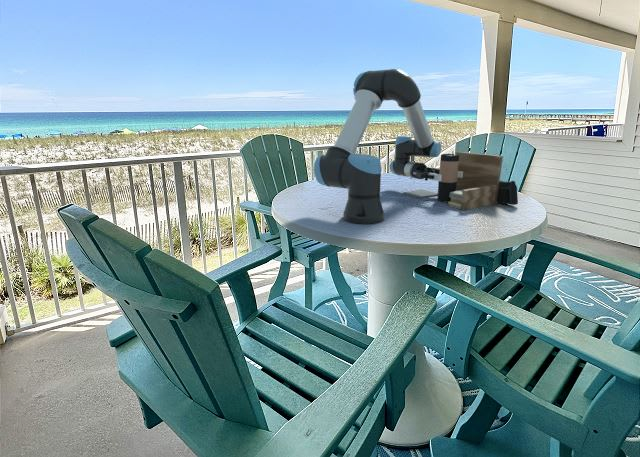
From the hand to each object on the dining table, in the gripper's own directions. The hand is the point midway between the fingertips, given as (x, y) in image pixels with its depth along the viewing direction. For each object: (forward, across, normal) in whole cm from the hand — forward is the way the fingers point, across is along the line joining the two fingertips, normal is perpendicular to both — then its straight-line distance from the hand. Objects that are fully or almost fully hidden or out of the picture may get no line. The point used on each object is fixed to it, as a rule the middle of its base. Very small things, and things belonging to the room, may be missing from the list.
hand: (451, 176), depth 159 cm
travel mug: (-2, 0, -11) cm, 11 cm away
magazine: (+8, -18, -11) cm, 22 cm away
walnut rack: (+3, -2, -11) cm, 11 cm away
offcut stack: (+8, -1, -11) cm, 14 cm away
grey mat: (-17, 0, -11) cm, 20 cm away
